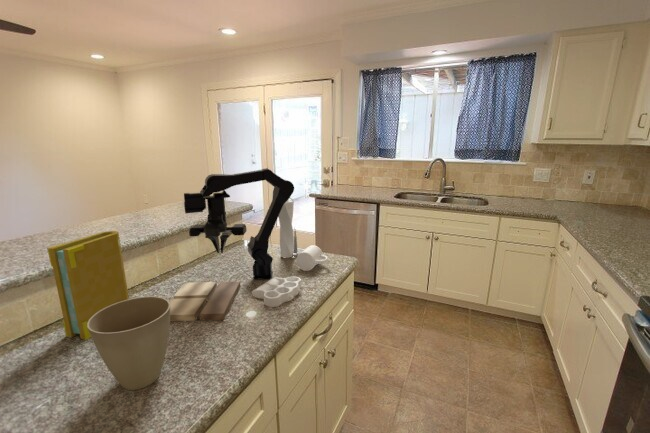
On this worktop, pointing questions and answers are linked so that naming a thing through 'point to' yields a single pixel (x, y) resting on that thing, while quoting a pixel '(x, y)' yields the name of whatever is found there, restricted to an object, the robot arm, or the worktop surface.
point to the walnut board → (220, 301)
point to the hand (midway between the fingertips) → (220, 252)
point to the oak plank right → (196, 290)
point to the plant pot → (132, 339)
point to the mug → (310, 258)
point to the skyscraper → (287, 230)
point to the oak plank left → (186, 308)
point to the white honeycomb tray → (278, 290)
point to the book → (88, 278)
